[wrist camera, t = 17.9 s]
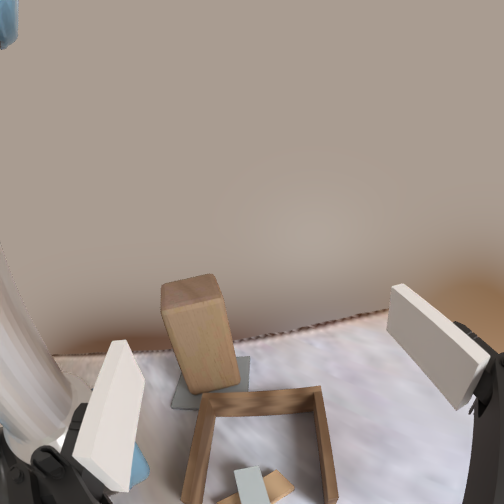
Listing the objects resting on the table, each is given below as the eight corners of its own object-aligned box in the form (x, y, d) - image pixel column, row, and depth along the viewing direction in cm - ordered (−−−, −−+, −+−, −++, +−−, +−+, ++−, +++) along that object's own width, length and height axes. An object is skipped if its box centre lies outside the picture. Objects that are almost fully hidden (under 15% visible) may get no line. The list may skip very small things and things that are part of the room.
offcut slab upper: (274, 516, 24) (273, 512, 23) (247, 521, 24) (245, 518, 23) (260, 471, 31) (258, 465, 31) (236, 476, 31) (233, 470, 30)
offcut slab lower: (234, 525, 24) (231, 522, 23) (219, 506, 27) (216, 502, 27) (294, 491, 29) (294, 486, 28) (277, 474, 32) (276, 469, 31)
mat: (171, 408, 46) (170, 406, 46) (186, 360, 59) (186, 358, 59) (246, 409, 45) (246, 408, 45) (250, 358, 58) (249, 356, 58)
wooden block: (231, 353, 59) (213, 270, 52) (242, 385, 50) (223, 296, 43) (185, 364, 57) (159, 282, 49) (191, 397, 48) (158, 310, 40)
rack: (192, 510, 26) (180, 499, 24) (210, 411, 45) (202, 392, 43) (333, 508, 25) (338, 497, 23) (319, 405, 44) (320, 385, 42)
